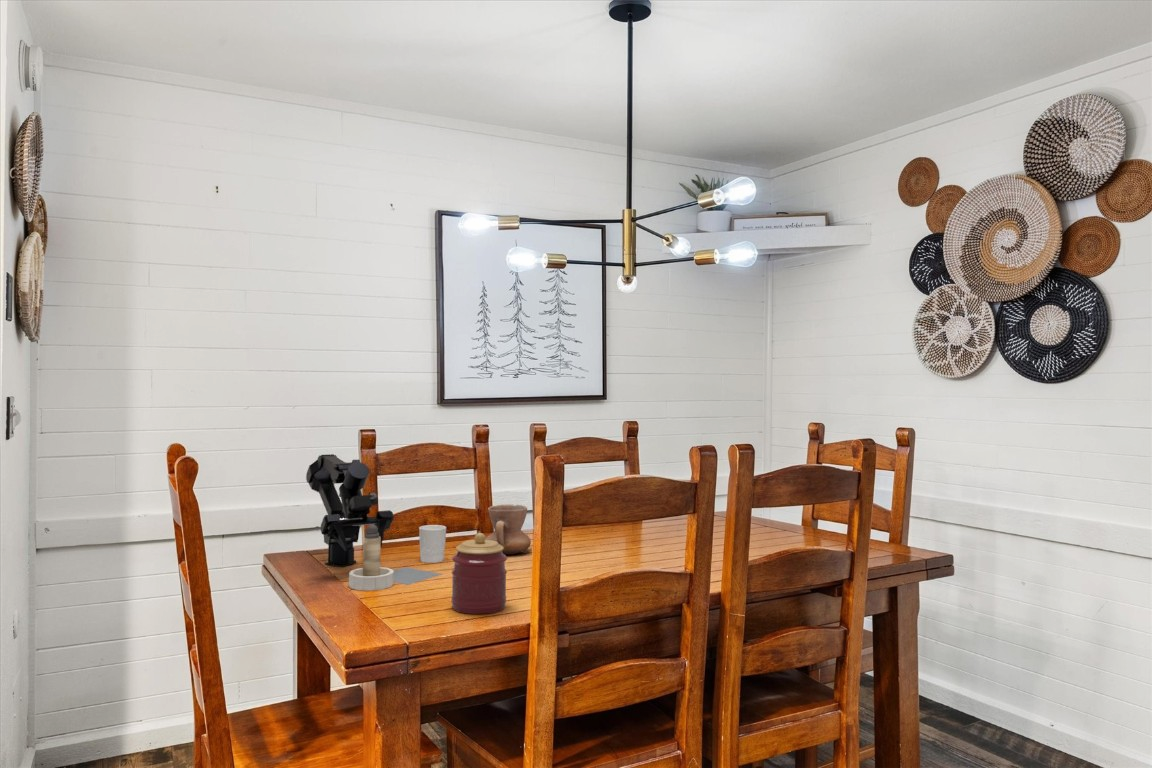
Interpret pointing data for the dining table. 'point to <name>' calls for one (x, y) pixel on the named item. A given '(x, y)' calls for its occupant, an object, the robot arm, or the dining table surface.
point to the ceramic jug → (509, 527)
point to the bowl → (371, 580)
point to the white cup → (432, 543)
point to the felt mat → (412, 575)
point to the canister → (479, 576)
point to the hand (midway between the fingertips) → (363, 548)
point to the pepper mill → (371, 551)
